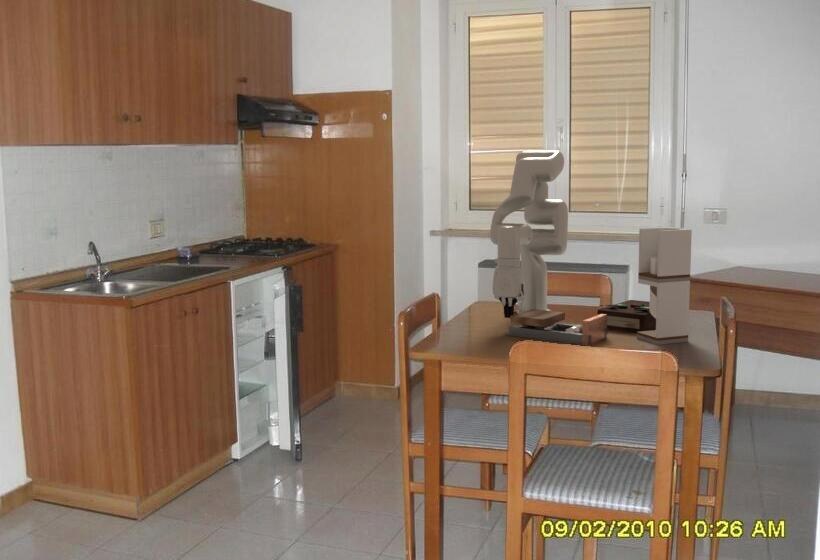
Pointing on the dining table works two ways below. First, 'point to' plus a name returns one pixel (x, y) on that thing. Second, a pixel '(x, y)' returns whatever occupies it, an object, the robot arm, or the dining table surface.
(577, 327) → the roller
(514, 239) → the robot arm
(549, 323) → the slab
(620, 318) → the decorative book
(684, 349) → the dining table surface
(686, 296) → the white tower
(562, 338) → the track
